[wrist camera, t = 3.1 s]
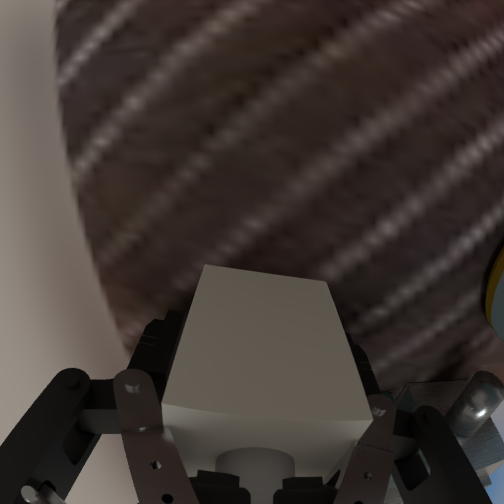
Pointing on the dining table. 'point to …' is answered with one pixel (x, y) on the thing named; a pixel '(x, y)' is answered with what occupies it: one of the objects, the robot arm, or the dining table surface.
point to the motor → (460, 420)
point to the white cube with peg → (263, 381)
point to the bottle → (496, 296)
